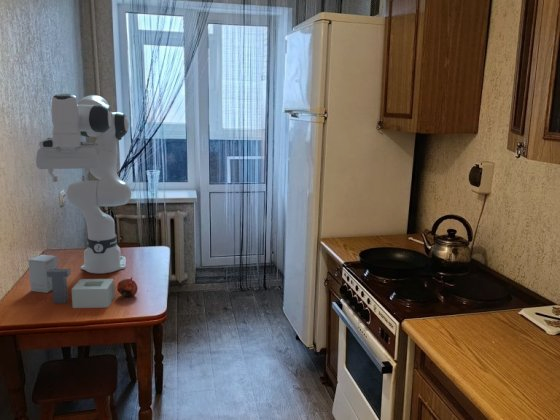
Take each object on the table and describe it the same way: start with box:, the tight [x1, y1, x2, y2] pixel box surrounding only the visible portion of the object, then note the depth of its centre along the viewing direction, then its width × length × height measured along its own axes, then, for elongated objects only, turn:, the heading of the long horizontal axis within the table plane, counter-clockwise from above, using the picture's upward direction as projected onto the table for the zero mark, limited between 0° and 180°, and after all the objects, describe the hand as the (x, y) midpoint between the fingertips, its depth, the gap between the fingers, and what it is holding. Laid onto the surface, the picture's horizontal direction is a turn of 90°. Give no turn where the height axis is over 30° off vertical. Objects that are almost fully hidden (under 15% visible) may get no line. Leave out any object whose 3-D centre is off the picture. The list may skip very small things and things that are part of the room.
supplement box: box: [28, 254, 59, 293], centre depth 180 cm, size 7×7×13 cm
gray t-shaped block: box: [47, 268, 71, 304], centre depth 168 cm, size 3×7×12 cm, turn 96°
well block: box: [71, 278, 116, 309], centre depth 169 cm, size 10×12×7 cm
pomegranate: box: [116, 277, 138, 301], centre depth 175 cm, size 7×7×10 cm
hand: (69, 181), depth 165 cm, fingers open, 8 cm apart
